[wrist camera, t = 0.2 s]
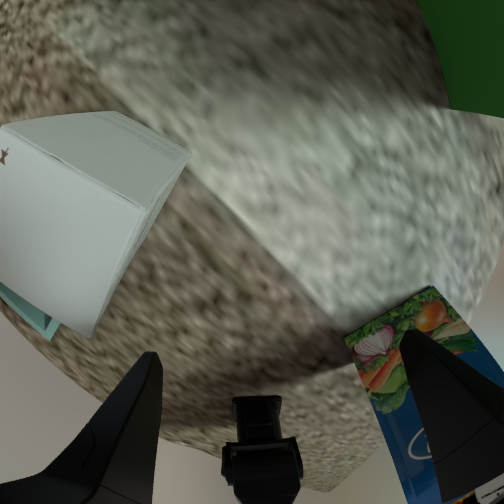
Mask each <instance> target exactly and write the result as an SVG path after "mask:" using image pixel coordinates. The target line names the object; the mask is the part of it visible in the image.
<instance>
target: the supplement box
mask: <svg viewBox="0 0 504 504" xmlns="http://www.w3.org/2000/svg"><path fill="white" fill-rule="evenodd" d="M190 156H191V152H190V151H188V150H186V149H185V148H183V147H181V146H180V145H178V144H176V143H175V142H173V141H171V140H169V139H168V138H166V137H164V136H162V135H160V134H159V133H157V132H155V131H153V130H151V129H149V128H147V127H146V126H144V125H142V124H140V123H138V122H136V121H134V120H132V119H130V118H129V117H127V116H125V115H123V114H121V113H119V112H117V111H102V112H88V113H76V114H67V115H57V116H50V117H43V118H36V119H30V120H24V121H18V122H13V123H9V124H4V125H2V126H1V128H0V282H1V283H3V284H4V285H5V286H7V287H8V288H9V289H11V290H12V291H14V292H15V293H16V294H18V295H19V296H21V297H22V298H23V299H25V300H26V301H28V302H29V303H31V304H32V305H34V306H35V307H37V308H38V309H40V310H41V311H43V312H44V313H46V314H47V315H49V316H51V317H52V318H54V319H55V320H57V321H59V322H60V323H62V324H64V325H65V326H67V327H69V328H70V329H72V330H74V331H76V332H77V333H79V334H81V335H83V336H84V337H86V338H88V339H91V338H92V336H93V335H94V333H95V330H96V328H97V326H98V324H99V322H100V320H101V318H102V315H103V313H104V311H105V309H106V307H107V305H108V303H109V301H110V300H111V298H112V296H113V294H114V292H115V290H116V288H117V286H118V284H119V282H120V280H121V278H122V276H123V274H124V272H125V271H126V269H127V267H128V265H129V264H130V262H131V260H132V259H133V257H134V255H135V254H136V252H137V250H138V249H139V247H140V245H141V244H142V242H143V240H144V239H145V237H146V236H147V234H148V232H149V230H150V228H151V226H152V224H153V222H154V221H155V219H156V217H157V215H158V213H159V211H160V210H161V208H162V206H163V204H164V202H165V200H166V199H167V197H168V195H169V193H170V191H171V190H172V188H173V186H174V184H175V182H176V181H177V179H178V177H179V175H180V174H181V172H182V170H183V168H184V167H185V165H186V163H187V161H188V160H189V158H190Z"/></svg>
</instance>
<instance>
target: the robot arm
mask: <svg viewBox="0 0 504 504" xmlns="http://www.w3.org/2000/svg"><path fill="white" fill-rule="evenodd" d="M399 350H400V354H401V357H402V361H403V365H404V368H405V372H406V376H407V380H408V383H409V386H410V389H411V392H412V395H413V398H414V400H415V403H416V406H417V409H418V412H419V415H420V419H421V422H422V425H423V428H424V432H425V435H426V438H427V442H428V445H429V449H430V453H431V456H432V460H433V464H434V469H435V473H436V477H437V481H438V486H439V490H440V495H441V500H442V503H443V504H444V503H446V502H449V501H451V500H453V499H456V498H458V497H460V496H462V495H464V494H466V493H468V492H470V491H473V490H474V493H473V494H471V495H470V496H468V497H467V498H465V499H464V500H463V502H462V504H504V388H502V387H501V386H499V385H497V384H496V383H494V382H493V381H491V380H490V379H489V378H487V377H486V376H484V375H483V374H482V373H480V372H479V371H477V370H476V369H475V368H473V367H472V366H470V365H469V364H468V363H466V362H465V361H463V360H462V359H461V358H459V357H458V356H456V355H455V354H454V353H452V352H451V351H449V350H448V349H446V348H445V347H444V346H442V345H441V344H439V343H438V342H436V341H435V340H433V339H432V338H431V337H429V336H428V335H426V334H425V333H423V332H422V331H420V330H419V329H417V328H410V329H407V330H406V331H405V333H404V335H403V337H402V339H401V341H400V344H399ZM162 388H163V367H162V364H161V361H160V359H159V356H158V354H157V353H156V352H150V351H147V352H144V353H143V354H142V356H141V357H140V358H139V359H138V360H137V362H136V363H135V364H134V365H133V367H132V368H131V369H130V370H129V372H128V373H127V374H126V375H125V376H124V378H123V379H122V380H121V381H120V383H119V384H118V385H117V386H116V388H115V389H114V390H113V391H112V393H111V394H110V395H109V396H108V398H107V399H106V400H105V401H104V403H103V404H102V405H101V406H100V408H99V409H98V410H97V412H96V413H95V414H94V415H93V417H92V418H91V419H90V421H89V422H88V423H87V424H86V426H85V427H84V428H83V429H82V430H81V432H80V433H79V434H78V435H77V437H76V438H75V439H74V440H73V441H72V442H71V443H70V444H69V446H67V447H66V448H65V449H64V450H63V452H61V454H60V455H59V456H58V457H57V458H55V460H53V461H52V463H50V465H48V466H47V467H46V468H45V469H44V470H43V471H42V472H40V473H38V474H36V475H33V476H30V477H26V478H23V479H19V480H15V481H11V482H6V483H2V484H0V504H152V495H153V483H154V482H153V481H154V470H155V462H156V461H155V460H156V453H157V444H158V436H159V428H160V421H161V413H162ZM281 403H282V397H281V396H271V397H257V398H236V399H233V400H232V406H233V416H234V422H236V423H237V439H238V442H226V446H224V447H222V468H221V475H222V476H223V477H225V478H226V481H227V482H228V486H233V488H234V494H235V497H236V499H237V501H238V502H239V503H240V504H293V502H294V500H295V498H296V496H297V494H298V492H299V490H300V488H301V486H300V480H301V479H303V464H302V459H301V456H300V452H299V449H298V445H297V442H296V438H295V437H291V438H284V439H282V433H281V427H280V421H279V415H280V409H281Z"/></svg>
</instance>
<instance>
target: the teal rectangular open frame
mask: <svg viewBox="0 0 504 504" xmlns="http://www.w3.org/2000/svg"><path fill="white" fill-rule="evenodd" d="M0 297H1V298H2V299H3V300H4V301H5V302H6V303H7V304H8V305H9V306H10V307H12V308H13V309H14V310H15V311H16V312H17V313H18V314H19V315H20V316H21V317H22V318H23V319H25V320H26V321H27V322H28V323H29V324H30V325H31V326H33V327H34V328H35V329H36V330H37V331H38V332H40V333H41V334H42V335H43V336H44V337H46V338H47V339H48V340H49V341H50V339H51V338H52V336H53V334H54V333H55V331H56V329H57V328H58V326H59V325H60V322H59V321H57V320H55V319H54V318H52V317H51V316H49V315H47V314H46V313H44V312H43V311H41V310H40V309H38V308H37V307H35V306H34V305H32V304H31V303H29V302H28V301H26V300H25V299H23V298H22V297H21V296H19V295H18V294H16V293H15V292H14V291H12V290H11V289H9V288H8V287H7V286H5V285H4V284H3V283H1V282H0Z"/></svg>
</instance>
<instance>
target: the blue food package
mask: <svg viewBox="0 0 504 504" xmlns="http://www.w3.org/2000/svg"><path fill="white" fill-rule="evenodd" d="M410 328H417V329H419V330H420V331H422V332H423V333H425V334H426V335H428V336H429V337H431V338H432V339H433V340H435V341H436V342H438V343H439V344H441V345H442V346H444V347H445V348H446V349H448V350H449V351H451V352H452V353H454V354H455V355H456V356H458V357H459V358H461V359H462V360H463V361H465V362H466V363H468V364H469V365H470V366H472V367H473V368H475V369H476V370H477V371H479V372H480V373H482V374H483V375H484V376H486V377H487V378H489V379H490V380H491V381H493V382H494V383H496V384H497V385H499V386H501V387H502V388H504V372H503V371H502V369H501V368H500V366H499V365H498V363H497V362H496V361H495V359H494V358H493V356H492V355H491V354H490V353H489V351H488V350H487V348H486V347H485V346H484V345H483V343H482V342H481V341H480V340H479V338H478V337H477V336H476V334H475V333H474V332H473V331H472V329H471V328H470V327H469V326H468V325H467V323H466V322H465V321H464V320H463V319H462V317H461V316H460V315H459V314H458V313H457V312H456V310H455V309H454V308H453V307H452V306H451V305H450V304H449V302H448V301H447V300H446V299H445V298H444V297H443V296H442V295H441V294H440V293H439V291H438V290H437V289H436V288H435V287H434V286H432V287H430V288H429V289H427V290H426V291H424V292H422V293H420V294H417V295H415V296H413V297H412V298H410V299H408V300H407V301H406V302H405V303H403V304H402V305H401V306H399V307H397V308H395V309H393V310H391V311H389V312H387V313H385V314H384V315H382V316H380V317H378V318H376V319H374V320H372V321H371V322H369V323H367V324H366V325H364V326H363V327H361V328H360V329H358V330H356V331H355V332H354V333H352V334H350V335H348V336H346V337H344V340H345V343H346V345H347V347H348V349H349V352H350V354H351V356H352V359H353V361H354V363H355V366H356V368H357V370H358V373H359V375H360V377H361V380H362V382H363V385H364V387H365V389H366V392H367V394H368V397H369V399H370V402H371V404H372V407H373V409H374V412H375V414H376V417H377V419H378V422H379V424H380V427H381V430H382V432H383V435H384V438H385V440H386V443H387V445H388V448H389V451H390V453H391V456H392V459H393V462H394V465H395V467H396V470H397V473H398V476H399V479H400V482H401V485H402V488H403V491H404V494H405V497H406V500H407V503H408V504H443V503H442V500H441V495H440V490H439V486H438V481H437V477H436V473H435V469H434V464H433V460H432V456H431V453H430V449H429V445H428V442H427V438H426V435H425V432H424V428H423V425H422V422H421V419H420V415H419V412H418V409H417V406H416V403H415V400H414V398H413V395H412V392H411V389H410V386H409V383H408V380H407V376H406V372H405V368H404V365H403V361H402V357H401V354H400V350H399V344H400V341H401V339H402V337H403V335H404V333H405V331H406V330H407V329H410ZM473 493H474V490H473V491H470V492H468V493H466V494H464V495H462V496H460V497H458V498H456V499H453V500H451V501H449V502H446V503H444V504H462V502H463V500H464V499H465V498H467V497H468V496H470V495H471V494H473Z"/></svg>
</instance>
